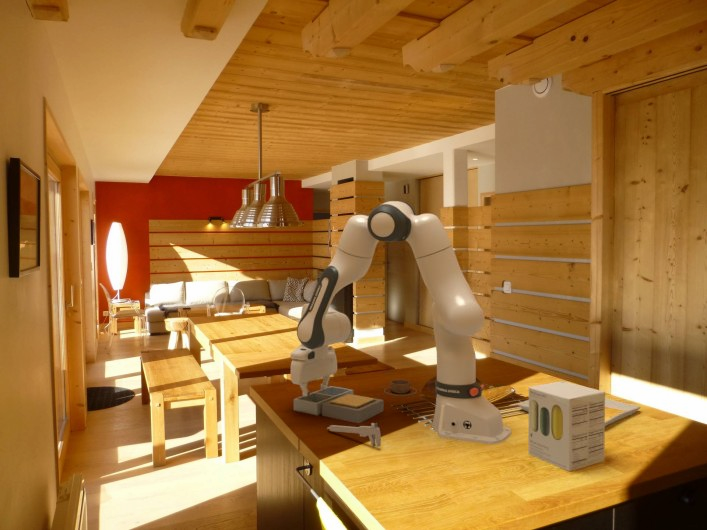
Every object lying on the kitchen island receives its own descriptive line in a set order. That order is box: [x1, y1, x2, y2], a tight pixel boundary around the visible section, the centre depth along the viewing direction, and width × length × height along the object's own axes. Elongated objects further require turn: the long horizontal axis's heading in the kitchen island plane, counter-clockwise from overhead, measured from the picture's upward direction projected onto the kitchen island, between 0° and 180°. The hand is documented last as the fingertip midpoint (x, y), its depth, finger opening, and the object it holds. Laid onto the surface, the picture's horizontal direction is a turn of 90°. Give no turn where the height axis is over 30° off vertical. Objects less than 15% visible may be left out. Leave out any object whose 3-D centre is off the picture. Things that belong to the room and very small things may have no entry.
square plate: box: [517, 397, 641, 427], centre depth 177 cm, size 27×27×4 cm
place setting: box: [383, 379, 418, 397], centre depth 201 cm, size 18×20×6 cm
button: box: [331, 394, 376, 409], centre depth 179 cm, size 10×10×4 cm
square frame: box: [321, 394, 385, 424], centre depth 179 cm, size 14×14×4 cm
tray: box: [293, 385, 354, 417], centre depth 188 cm, size 20×10×4 cm, turn 145°
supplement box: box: [527, 380, 606, 472], centre depth 142 cm, size 13×13×18 cm
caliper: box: [326, 422, 382, 448], centre depth 156 cm, size 20×1×6 cm, turn 44°
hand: (315, 392), depth 184 cm, fingers open, 8 cm apart
